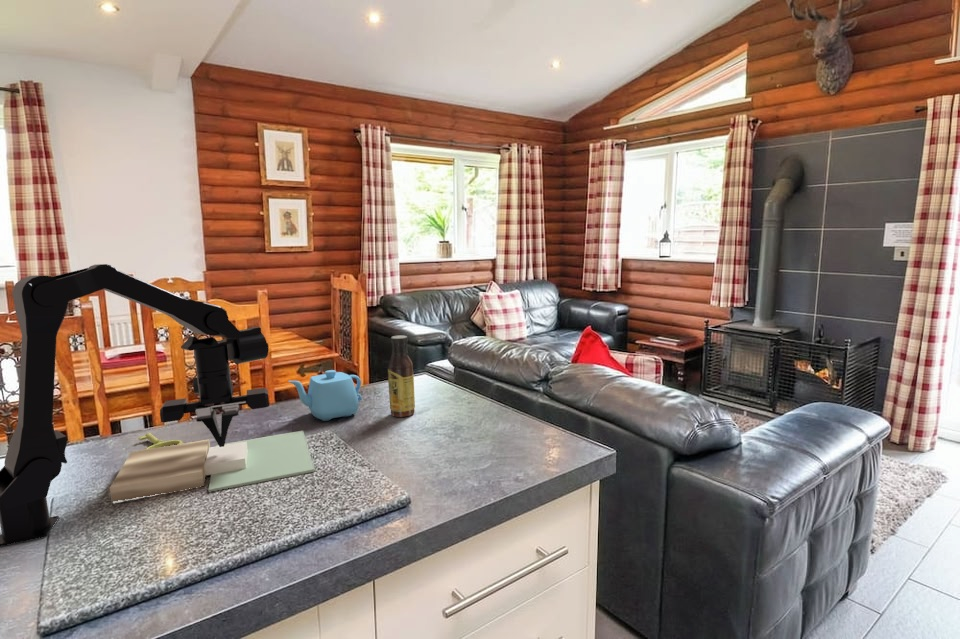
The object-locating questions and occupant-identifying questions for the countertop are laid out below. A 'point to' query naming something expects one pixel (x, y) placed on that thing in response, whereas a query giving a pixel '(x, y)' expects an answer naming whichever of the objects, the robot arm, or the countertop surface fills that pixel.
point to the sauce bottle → (401, 379)
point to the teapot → (331, 395)
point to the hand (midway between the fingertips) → (222, 446)
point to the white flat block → (226, 458)
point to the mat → (268, 461)
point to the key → (158, 441)
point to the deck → (161, 470)
